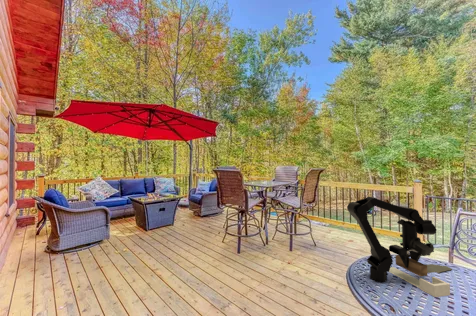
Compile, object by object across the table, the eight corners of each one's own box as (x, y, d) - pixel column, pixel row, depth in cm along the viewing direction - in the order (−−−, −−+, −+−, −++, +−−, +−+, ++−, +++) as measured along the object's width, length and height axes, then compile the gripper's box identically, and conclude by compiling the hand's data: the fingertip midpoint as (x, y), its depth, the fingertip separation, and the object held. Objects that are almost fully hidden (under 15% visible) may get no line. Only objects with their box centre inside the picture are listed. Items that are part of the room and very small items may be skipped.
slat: (420, 276, 94) (419, 266, 94) (395, 264, 106) (395, 255, 106) (427, 275, 95) (427, 265, 95) (402, 263, 107) (402, 254, 107)
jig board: (436, 299, 87) (435, 297, 87) (382, 269, 112) (382, 268, 112) (449, 297, 88) (449, 295, 88) (393, 268, 113) (393, 267, 113)
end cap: (435, 297, 87) (434, 285, 87) (419, 288, 93) (419, 278, 93) (450, 294, 88) (449, 283, 88) (434, 287, 94) (433, 276, 94)
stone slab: (404, 270, 114) (425, 277, 105) (404, 265, 115) (424, 271, 105) (433, 266, 120) (455, 272, 111) (432, 260, 121) (454, 266, 111)
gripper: (410, 240, 92) (411, 277, 91) (444, 238, 95) (445, 273, 94) (387, 233, 102) (388, 265, 102) (418, 231, 106) (419, 262, 105)
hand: (410, 267), depth 101 cm, fingers closed on slat, 4 cm apart
